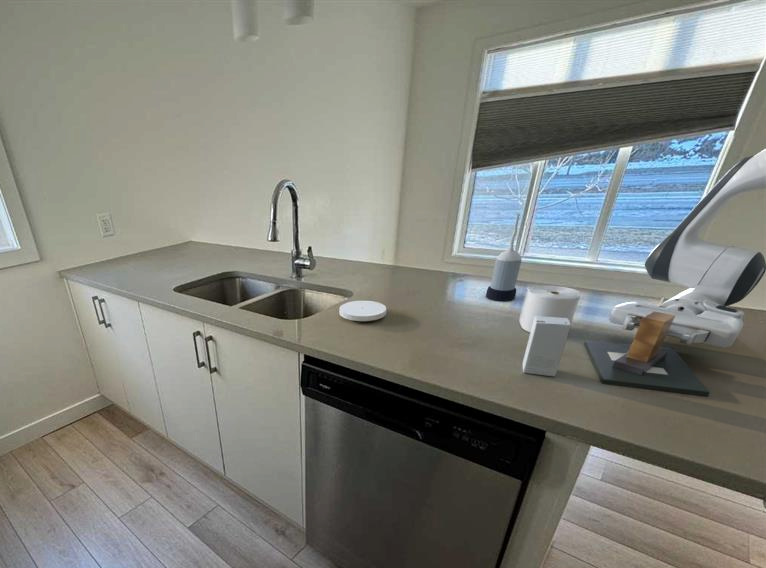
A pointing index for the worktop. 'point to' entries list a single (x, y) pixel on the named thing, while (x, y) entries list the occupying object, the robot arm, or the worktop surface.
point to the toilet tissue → (548, 304)
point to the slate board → (661, 377)
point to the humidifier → (505, 272)
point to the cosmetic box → (546, 345)
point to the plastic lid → (362, 310)
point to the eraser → (646, 344)
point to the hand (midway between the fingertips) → (655, 332)
